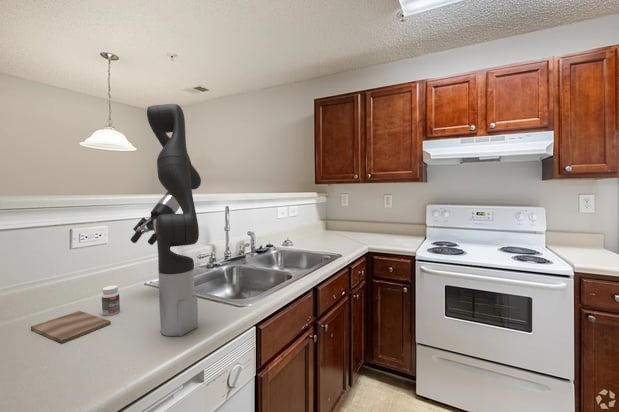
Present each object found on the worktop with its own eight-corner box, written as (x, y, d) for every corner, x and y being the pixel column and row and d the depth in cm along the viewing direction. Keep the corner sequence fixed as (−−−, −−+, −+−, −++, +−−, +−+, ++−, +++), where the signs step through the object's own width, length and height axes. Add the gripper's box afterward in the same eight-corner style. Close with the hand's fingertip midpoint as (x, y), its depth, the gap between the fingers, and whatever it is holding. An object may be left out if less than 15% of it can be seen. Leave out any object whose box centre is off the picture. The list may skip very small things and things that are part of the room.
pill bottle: (111, 316, 91) (109, 290, 90) (98, 315, 92) (97, 289, 91) (123, 310, 96) (122, 285, 95) (111, 309, 96) (110, 284, 96)
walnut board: (110, 324, 85) (110, 321, 85) (61, 343, 75) (61, 340, 75) (79, 313, 93) (79, 310, 93) (30, 330, 82) (30, 326, 82)
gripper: (146, 202, 113) (119, 235, 103) (174, 202, 108) (148, 238, 98) (158, 214, 118) (134, 247, 108) (185, 215, 113) (162, 250, 103)
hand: (141, 242), depth 103 cm, fingers open, 8 cm apart
